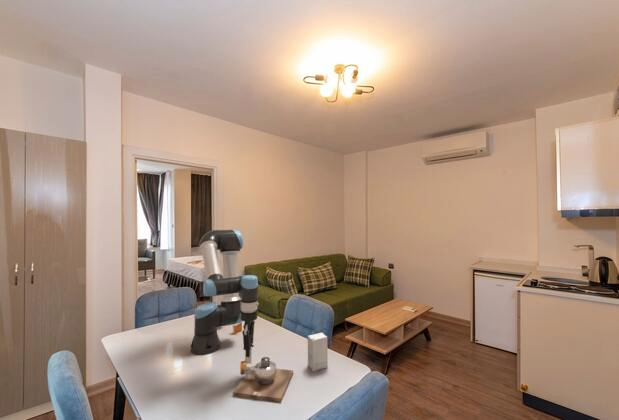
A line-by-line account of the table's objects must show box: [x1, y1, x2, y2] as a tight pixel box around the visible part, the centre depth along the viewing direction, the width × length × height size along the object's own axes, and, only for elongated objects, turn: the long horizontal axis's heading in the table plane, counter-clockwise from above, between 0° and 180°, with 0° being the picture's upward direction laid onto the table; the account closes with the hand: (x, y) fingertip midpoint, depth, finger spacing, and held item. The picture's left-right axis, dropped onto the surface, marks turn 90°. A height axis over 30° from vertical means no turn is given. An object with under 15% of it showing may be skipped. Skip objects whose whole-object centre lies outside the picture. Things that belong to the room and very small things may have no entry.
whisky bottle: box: [232, 321, 245, 335], centre depth 179 cm, size 10×6×30 cm
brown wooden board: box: [232, 365, 294, 403], centre depth 118 cm, size 20×20×3 cm
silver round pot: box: [239, 356, 277, 382], centre depth 119 cm, size 16×9×7 cm, turn 80°
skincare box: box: [307, 332, 329, 372], centre depth 132 cm, size 8×6×15 cm
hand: (248, 362), depth 125 cm, fingers closed
